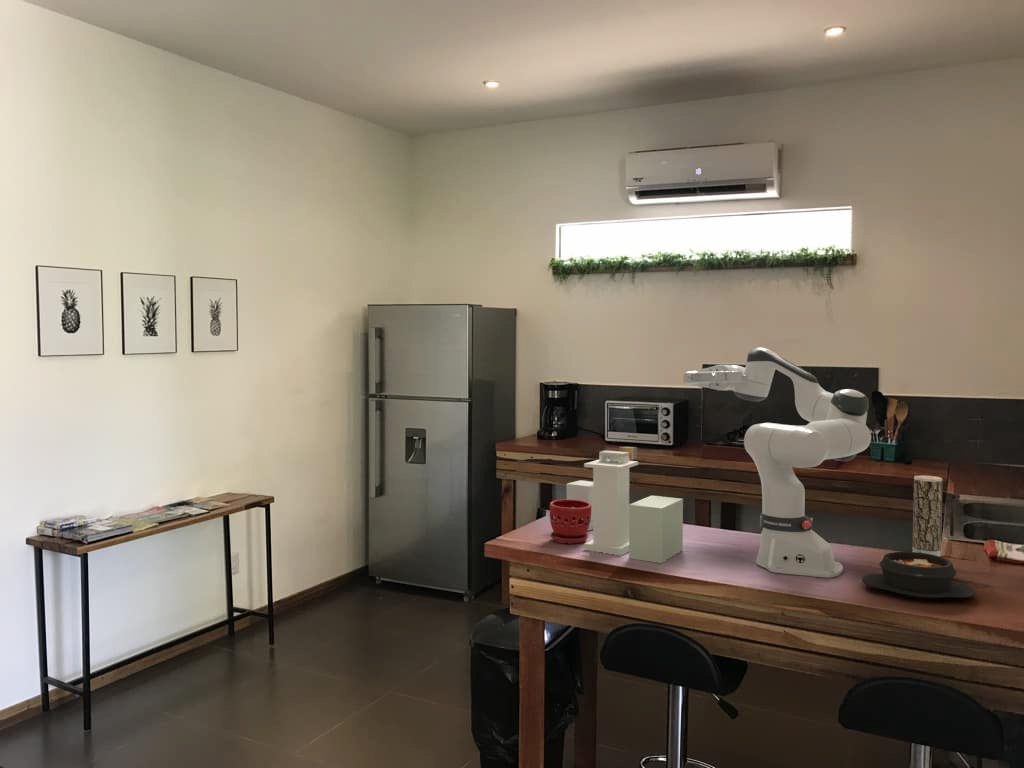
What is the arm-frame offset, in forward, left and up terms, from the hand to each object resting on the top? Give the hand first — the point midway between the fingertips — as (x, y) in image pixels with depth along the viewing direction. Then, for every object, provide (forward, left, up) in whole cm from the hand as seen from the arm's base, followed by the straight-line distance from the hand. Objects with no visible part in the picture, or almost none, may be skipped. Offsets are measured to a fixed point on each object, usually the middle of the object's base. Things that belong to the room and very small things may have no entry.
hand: (701, 377), depth 262 cm
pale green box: (-1, +39, -50) cm, 64 cm away
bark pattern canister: (-69, +15, -51) cm, 87 cm away
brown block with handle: (+13, +33, -24) cm, 43 cm away
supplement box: (+33, +19, -51) cm, 63 cm away
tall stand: (+13, +40, -50) cm, 66 cm away
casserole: (-69, +39, -51) cm, 94 cm away
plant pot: (+28, +38, -51) cm, 69 cm away
